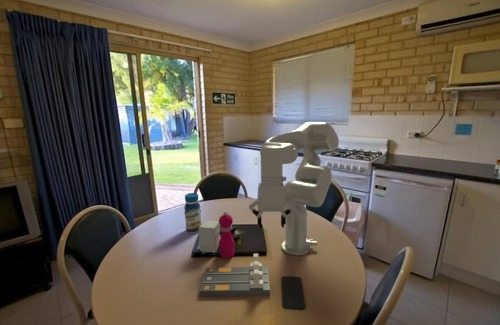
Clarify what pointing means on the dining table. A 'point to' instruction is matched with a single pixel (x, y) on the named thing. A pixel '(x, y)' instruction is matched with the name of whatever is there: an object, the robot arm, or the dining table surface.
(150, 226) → the dining table surface
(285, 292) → the phone
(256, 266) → the middle switch tab
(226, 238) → the pepper mill
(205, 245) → the supplement box
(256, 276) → the front switch tab
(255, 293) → the switch panel
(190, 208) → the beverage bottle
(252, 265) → the back switch tab
